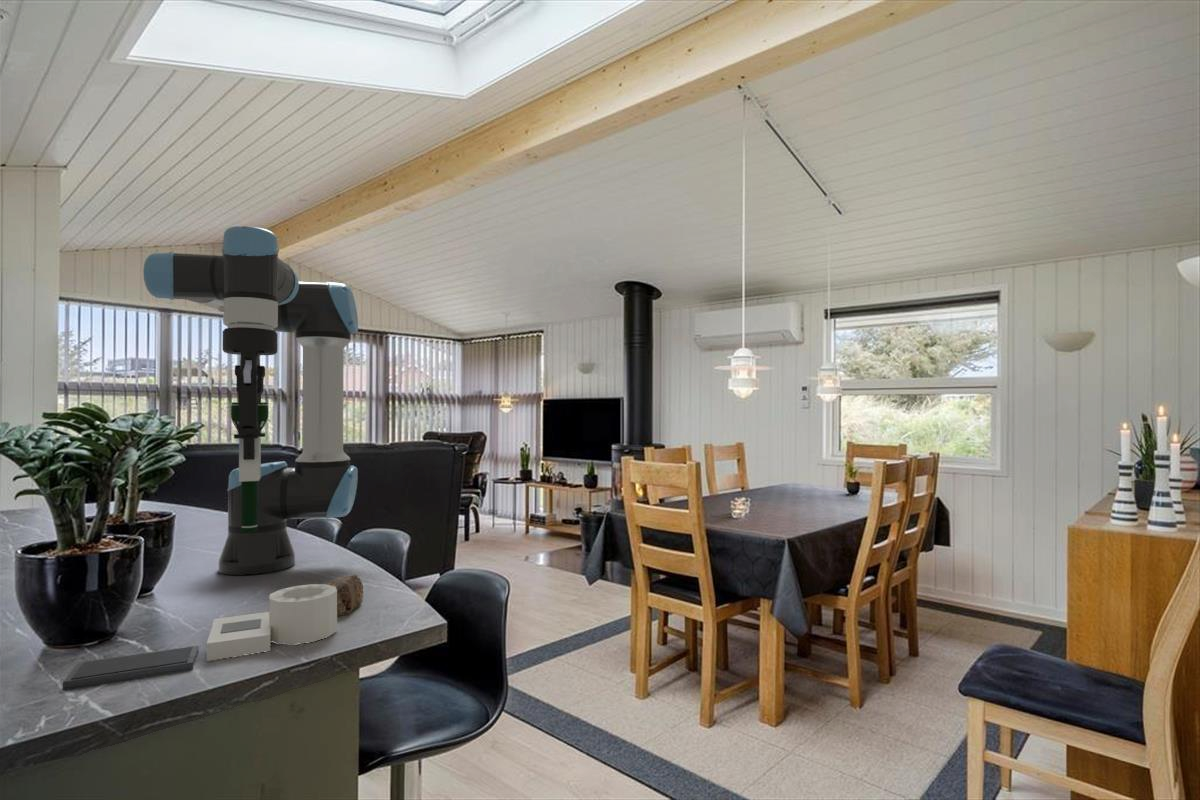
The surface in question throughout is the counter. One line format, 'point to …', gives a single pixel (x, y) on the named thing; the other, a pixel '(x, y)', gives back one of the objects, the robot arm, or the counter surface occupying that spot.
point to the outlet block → (277, 622)
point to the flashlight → (250, 487)
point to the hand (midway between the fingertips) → (250, 479)
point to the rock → (348, 593)
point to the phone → (131, 667)
